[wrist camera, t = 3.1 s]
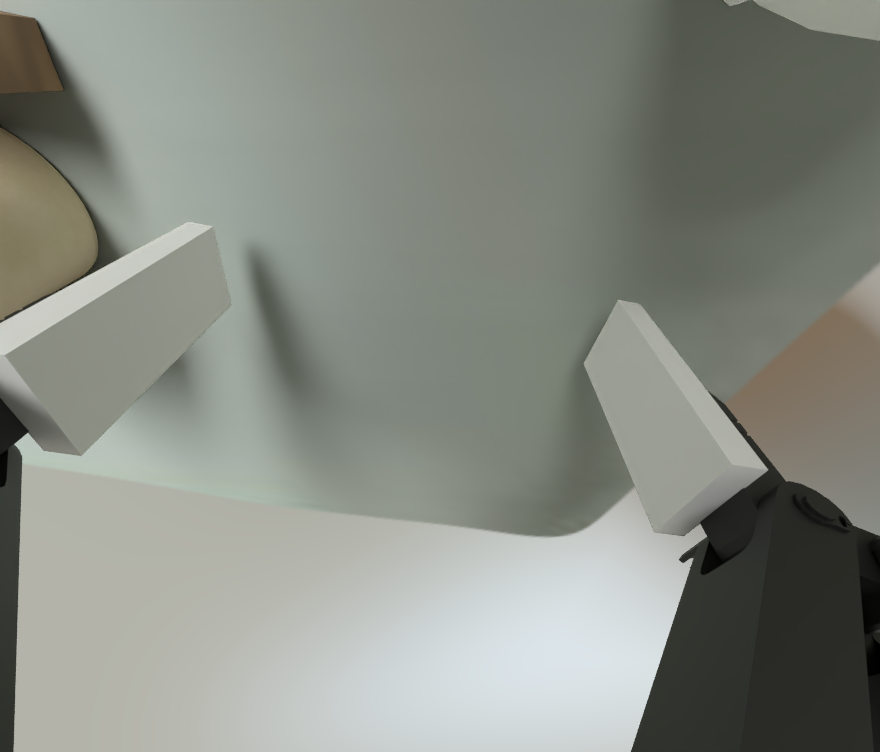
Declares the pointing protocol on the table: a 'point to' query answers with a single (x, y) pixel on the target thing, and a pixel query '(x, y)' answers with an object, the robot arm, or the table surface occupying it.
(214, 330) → the table surface
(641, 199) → the table surface
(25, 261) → the candle
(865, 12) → the cup
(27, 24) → the wooden stepped bars
